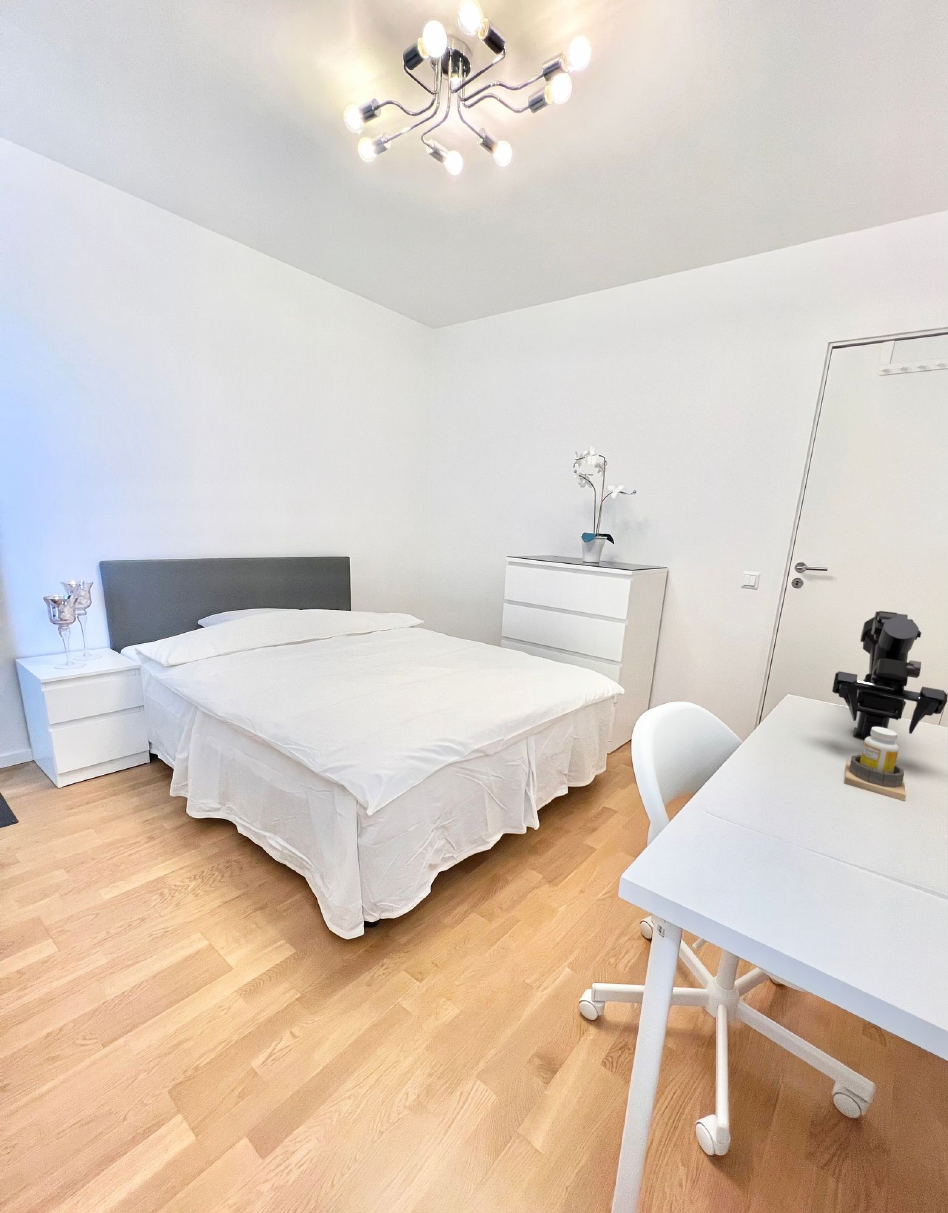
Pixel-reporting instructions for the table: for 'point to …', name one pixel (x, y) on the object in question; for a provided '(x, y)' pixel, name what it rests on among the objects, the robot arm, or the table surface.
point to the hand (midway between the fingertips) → (882, 726)
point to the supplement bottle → (880, 750)
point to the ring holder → (875, 779)
